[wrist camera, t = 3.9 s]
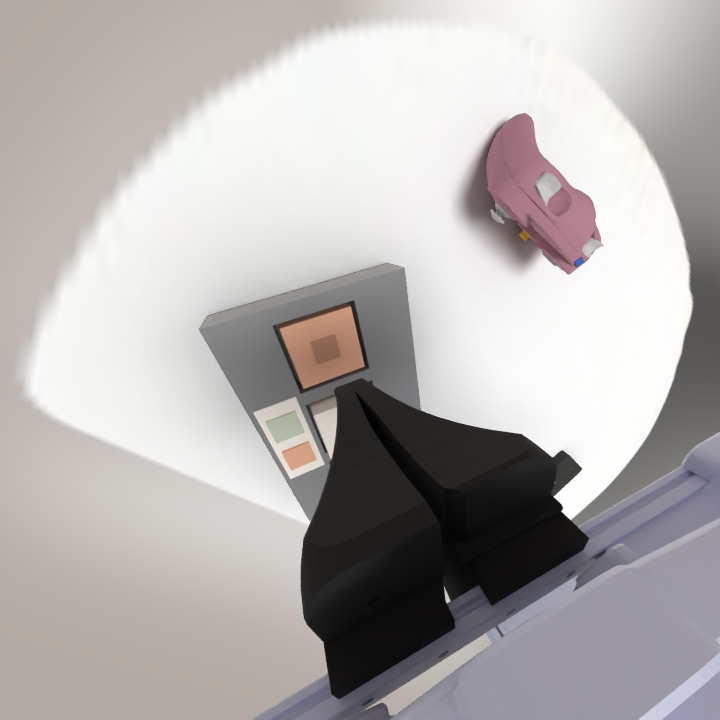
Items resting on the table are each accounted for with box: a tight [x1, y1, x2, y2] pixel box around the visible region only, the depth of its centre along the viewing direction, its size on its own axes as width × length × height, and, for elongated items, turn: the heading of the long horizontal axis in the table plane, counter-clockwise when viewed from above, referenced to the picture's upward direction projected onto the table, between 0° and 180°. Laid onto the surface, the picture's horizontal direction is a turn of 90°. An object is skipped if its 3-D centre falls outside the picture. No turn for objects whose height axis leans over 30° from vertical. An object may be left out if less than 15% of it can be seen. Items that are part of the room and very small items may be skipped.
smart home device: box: [551, 451, 582, 497], centre depth 42 cm, size 8×2×20 cm
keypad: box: [199, 263, 421, 521], centre depth 20 cm, size 19×12×3 cm, turn 14°
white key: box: [310, 394, 337, 459], centre depth 19 cm, size 4×4×2 cm
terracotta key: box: [279, 303, 365, 389], centre depth 17 cm, size 4×4×2 cm
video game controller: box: [486, 113, 603, 274], centre depth 17 cm, size 10×5×7 cm
